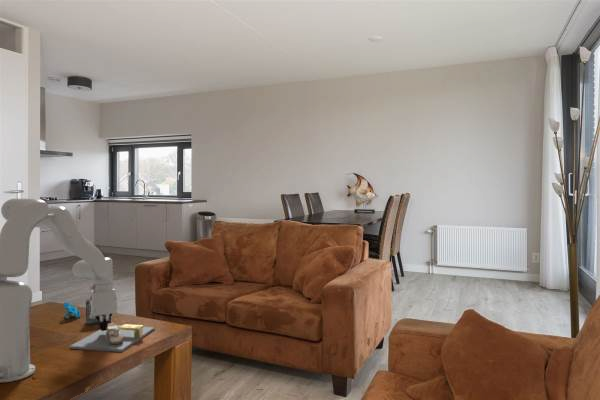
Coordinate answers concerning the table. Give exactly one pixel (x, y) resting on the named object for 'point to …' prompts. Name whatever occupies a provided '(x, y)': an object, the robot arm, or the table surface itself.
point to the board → (102, 340)
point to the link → (114, 334)
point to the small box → (88, 319)
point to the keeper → (137, 329)
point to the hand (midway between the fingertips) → (103, 329)
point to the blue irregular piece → (71, 310)
